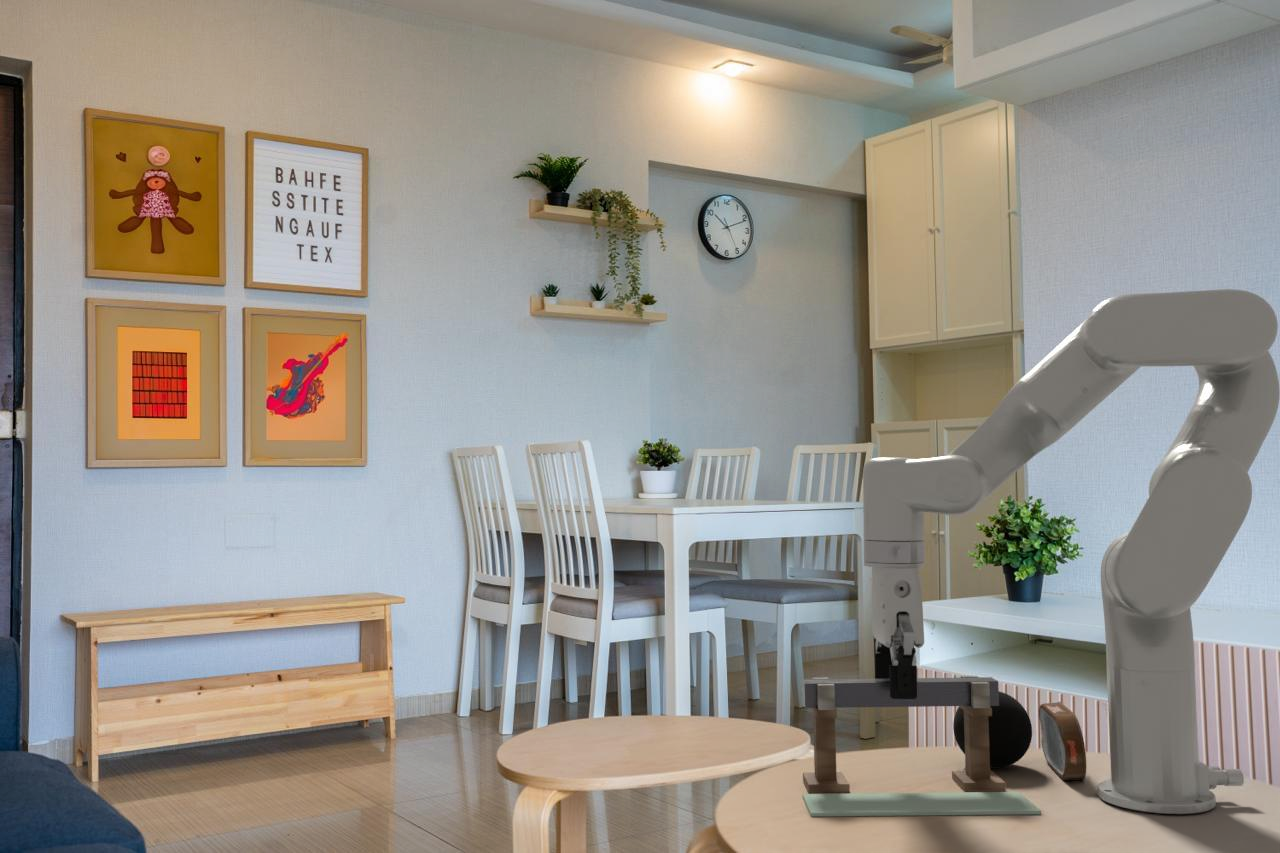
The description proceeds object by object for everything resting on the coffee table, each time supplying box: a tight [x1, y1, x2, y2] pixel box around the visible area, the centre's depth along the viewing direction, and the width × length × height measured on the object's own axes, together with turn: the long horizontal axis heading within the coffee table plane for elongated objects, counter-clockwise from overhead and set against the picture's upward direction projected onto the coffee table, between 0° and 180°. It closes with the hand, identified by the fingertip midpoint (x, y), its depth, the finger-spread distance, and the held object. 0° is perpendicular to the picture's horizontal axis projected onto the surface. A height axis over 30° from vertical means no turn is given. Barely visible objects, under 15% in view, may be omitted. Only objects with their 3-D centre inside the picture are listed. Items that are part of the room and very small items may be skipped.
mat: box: [802, 791, 1042, 817], centre depth 131 cm, size 26×8×1 cm, turn 89°
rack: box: [802, 675, 1007, 794], centre depth 140 cm, size 24×6×13 cm, turn 89°
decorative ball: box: [952, 691, 1033, 769], centre depth 149 cm, size 10×10×10 cm
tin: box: [1038, 701, 1087, 781], centre depth 145 cm, size 15×3×8 cm, turn 172°
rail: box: [801, 676, 999, 709], centre depth 140 cm, size 24×3×3 cm, turn 89°
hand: (895, 691), depth 141 cm, fingers open, 9 cm apart
